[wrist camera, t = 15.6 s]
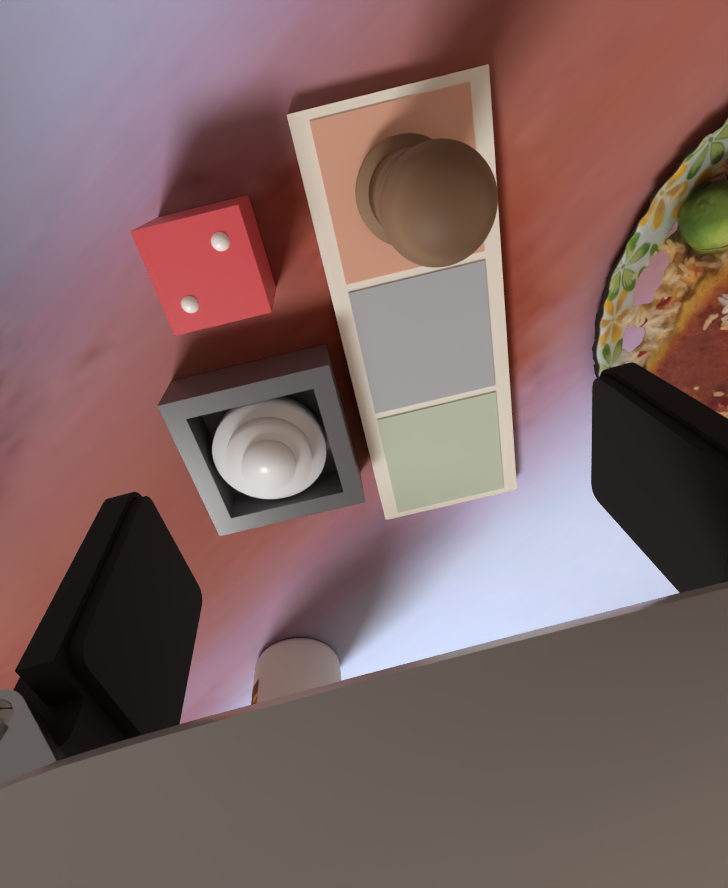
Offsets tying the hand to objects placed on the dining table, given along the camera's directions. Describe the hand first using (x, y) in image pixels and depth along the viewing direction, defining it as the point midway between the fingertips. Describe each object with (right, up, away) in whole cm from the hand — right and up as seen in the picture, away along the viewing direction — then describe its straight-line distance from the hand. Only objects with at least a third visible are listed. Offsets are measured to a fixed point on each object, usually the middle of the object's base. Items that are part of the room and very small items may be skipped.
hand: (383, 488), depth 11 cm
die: (-8, +12, +18) cm, 23 cm away
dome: (-6, +1, +22) cm, 23 cm away
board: (+3, +8, +21) cm, 23 cm away
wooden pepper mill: (+2, +14, +16) cm, 22 cm away
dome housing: (-7, +2, +24) cm, 25 cm away
